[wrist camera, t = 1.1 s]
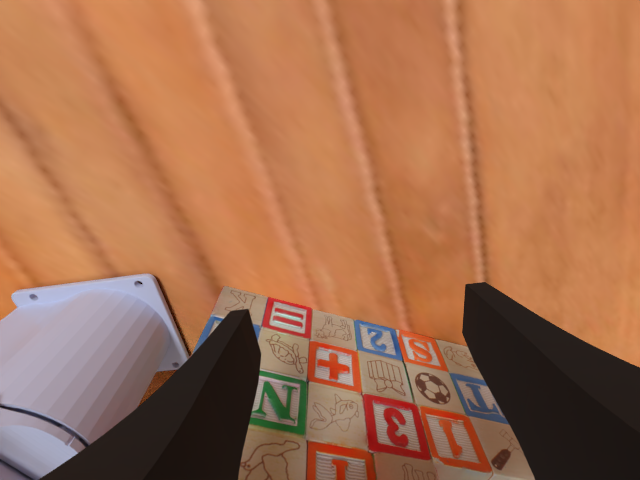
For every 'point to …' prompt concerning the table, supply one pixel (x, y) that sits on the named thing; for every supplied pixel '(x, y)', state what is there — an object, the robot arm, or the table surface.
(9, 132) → the table surface
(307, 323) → the stack of blocks
